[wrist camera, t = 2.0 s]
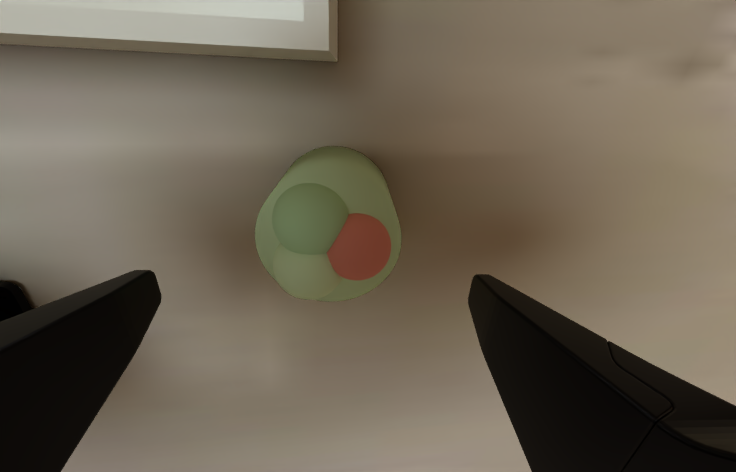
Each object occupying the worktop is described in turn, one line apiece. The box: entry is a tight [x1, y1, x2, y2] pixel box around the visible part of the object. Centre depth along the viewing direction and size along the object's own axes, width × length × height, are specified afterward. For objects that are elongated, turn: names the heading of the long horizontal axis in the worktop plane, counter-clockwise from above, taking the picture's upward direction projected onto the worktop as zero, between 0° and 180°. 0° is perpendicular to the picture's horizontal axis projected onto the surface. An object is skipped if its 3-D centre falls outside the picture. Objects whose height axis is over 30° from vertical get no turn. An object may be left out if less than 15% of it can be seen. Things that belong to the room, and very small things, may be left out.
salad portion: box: [255, 146, 402, 302], centre depth 13 cm, size 5×5×6 cm
